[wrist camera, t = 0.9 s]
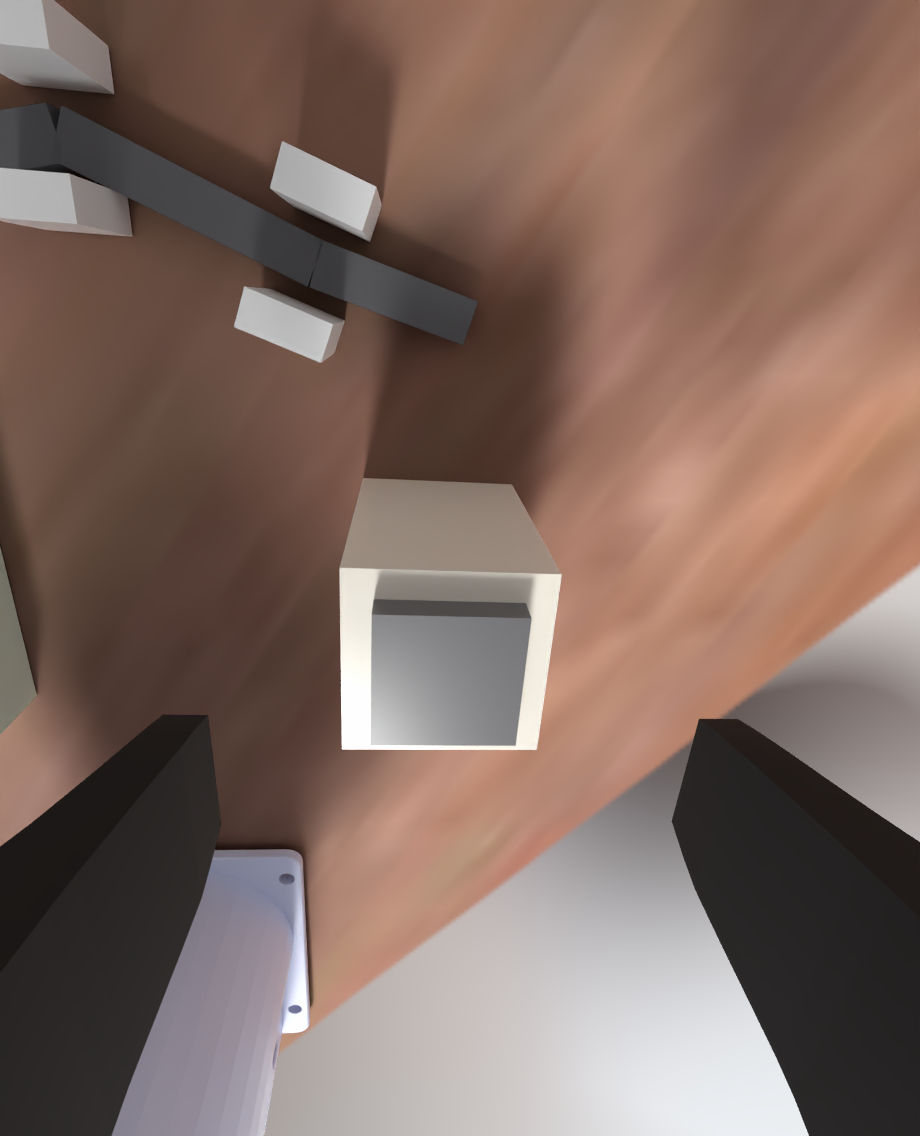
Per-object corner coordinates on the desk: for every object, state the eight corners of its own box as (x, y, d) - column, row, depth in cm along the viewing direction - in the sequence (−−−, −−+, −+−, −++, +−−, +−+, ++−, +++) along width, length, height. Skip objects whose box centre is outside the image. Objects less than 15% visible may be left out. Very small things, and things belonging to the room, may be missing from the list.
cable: (471, 343, 15) (474, 346, 14) (-290, 294, 14) (-330, 294, 13) (484, 153, 14) (489, 145, 13) (-374, 72, 12) (-426, 56, 11)
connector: (498, 614, 18) (542, 769, 12) (362, 611, 18) (338, 770, 12) (511, 484, 17) (569, 588, 11) (363, 477, 16) (335, 582, 10)
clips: (380, 356, 15) (374, 366, 13) (-170, 322, 14) (-284, 325, 12) (383, 74, 13) (378, 25, 11) (-270, 6, 12) (-434, -65, 9)
